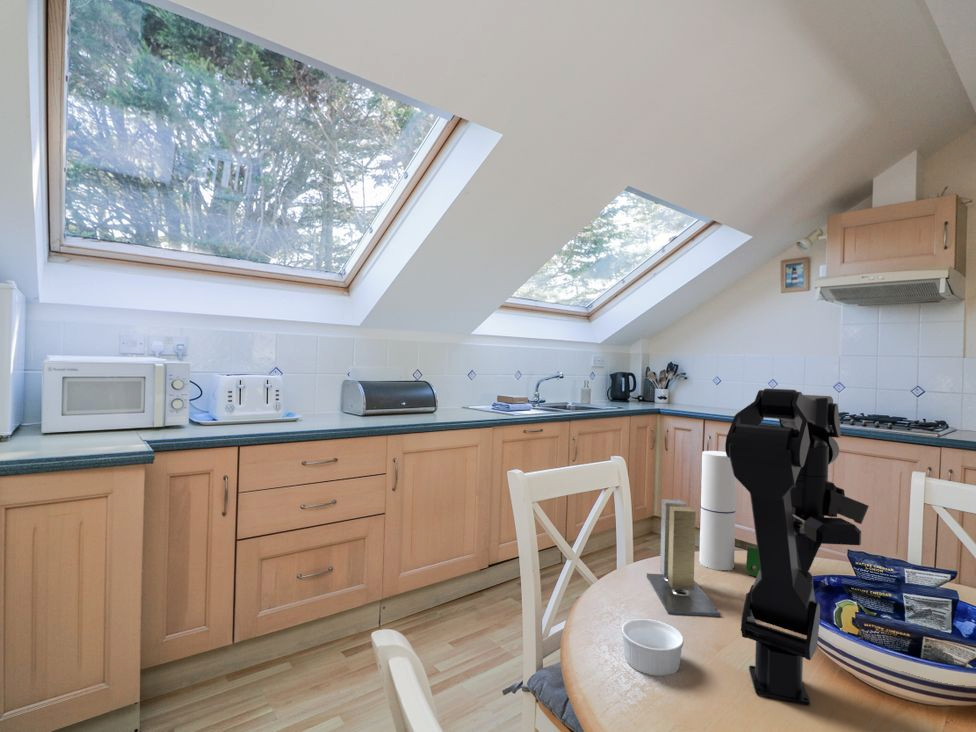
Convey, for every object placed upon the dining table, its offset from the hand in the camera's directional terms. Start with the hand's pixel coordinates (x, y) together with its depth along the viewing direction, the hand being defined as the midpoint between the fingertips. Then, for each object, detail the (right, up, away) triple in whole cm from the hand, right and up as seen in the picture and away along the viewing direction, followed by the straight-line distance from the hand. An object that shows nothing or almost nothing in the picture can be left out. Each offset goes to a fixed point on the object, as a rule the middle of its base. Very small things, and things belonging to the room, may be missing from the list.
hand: (804, 570), depth 83 cm
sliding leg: (-13, -12, +17) cm, 25 cm away
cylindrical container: (+1, -12, +34) cm, 36 cm away
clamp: (+11, -13, +27) cm, 32 cm away
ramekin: (-26, -12, -6) cm, 29 cm away
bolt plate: (-13, -12, +17) cm, 25 cm away
